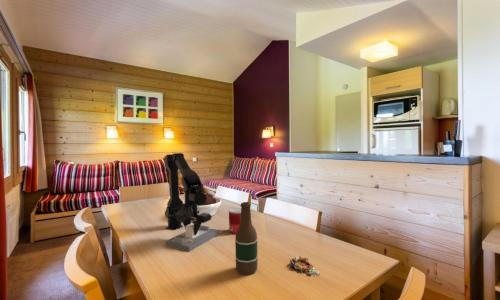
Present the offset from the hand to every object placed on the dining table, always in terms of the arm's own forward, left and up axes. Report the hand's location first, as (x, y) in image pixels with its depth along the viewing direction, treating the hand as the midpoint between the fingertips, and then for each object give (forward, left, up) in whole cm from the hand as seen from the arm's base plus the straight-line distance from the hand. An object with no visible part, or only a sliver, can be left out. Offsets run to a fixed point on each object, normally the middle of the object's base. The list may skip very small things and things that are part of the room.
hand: (191, 234), depth 118 cm
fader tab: (0, 0, -1) cm, 1 cm away
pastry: (+54, -3, -4) cm, 54 cm away
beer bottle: (+36, -13, -3) cm, 38 cm away
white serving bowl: (-21, +33, -3) cm, 40 cm away
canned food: (+13, +19, -3) cm, 23 cm away
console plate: (0, +1, -3) cm, 3 cm away
